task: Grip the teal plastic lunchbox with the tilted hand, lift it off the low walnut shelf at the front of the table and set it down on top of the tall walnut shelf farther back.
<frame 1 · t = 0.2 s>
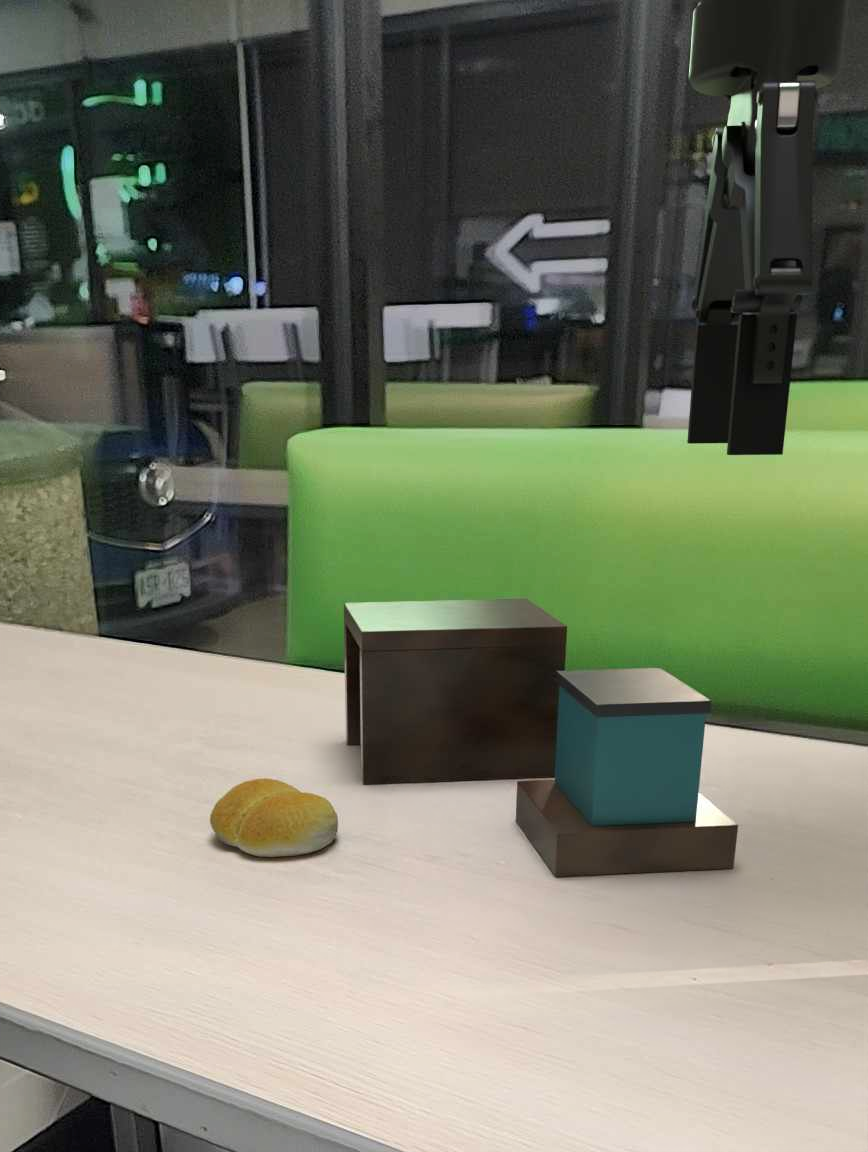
hand: (730, 449, 75), 26 cm above the table, tool pointing down, fingers open, 13 cm apart
bread roll: (274, 842, 93), on the table
bottom shelf: (618, 843, 92), on the table
top shelf: (447, 757, 113), on the table
lunchbox: (621, 801, 91), point 3 cm above the table, touching bottom shelf
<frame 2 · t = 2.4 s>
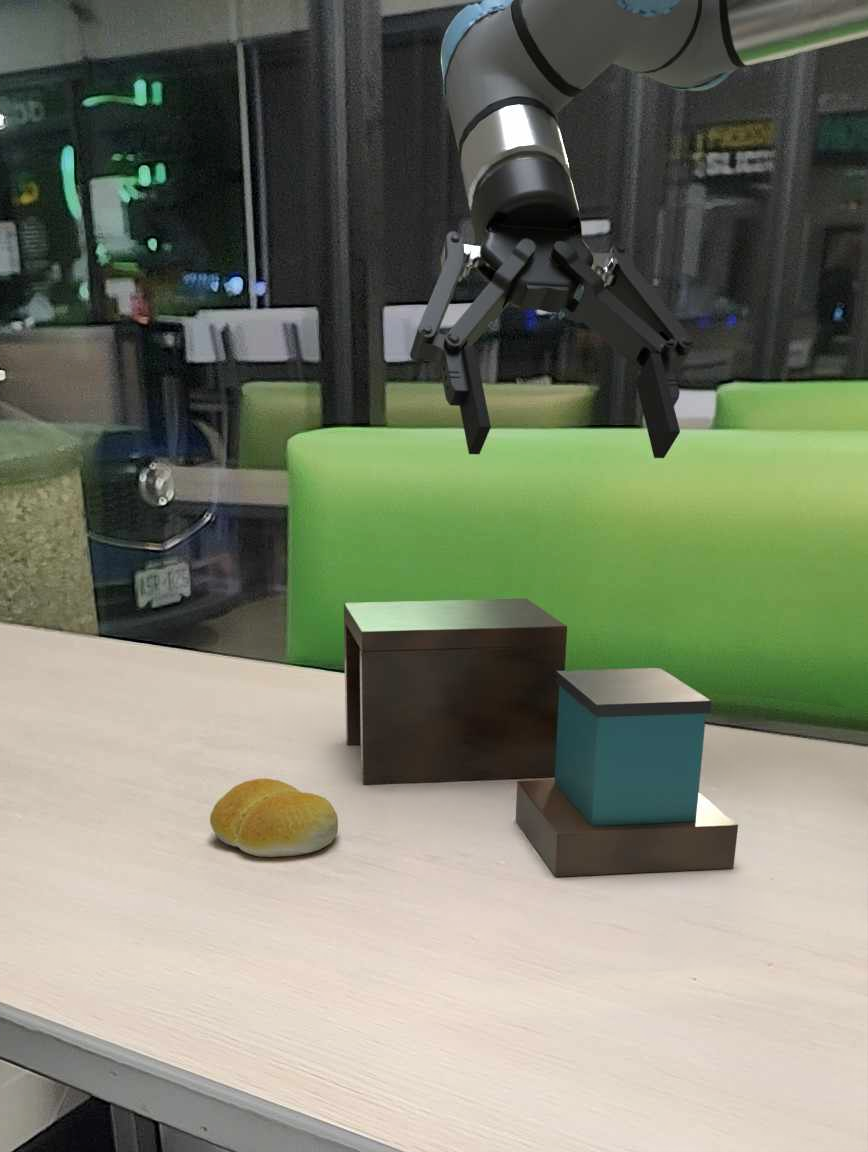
hand: (575, 443, 90), 25 cm above the table, tool tilted 40°, fingers open, 13 cm apart
nothing on the table moved.
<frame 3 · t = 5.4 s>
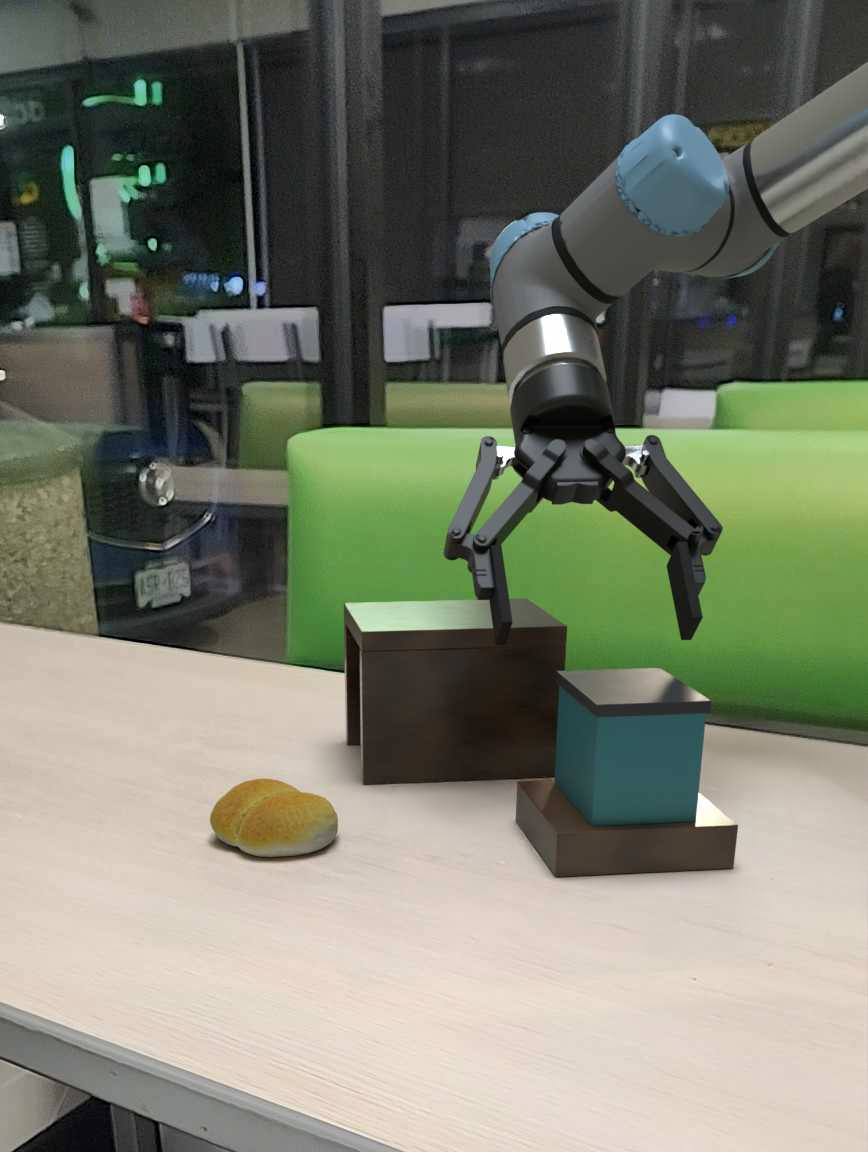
hand: (598, 632, 94), 13 cm above the table, tool tilted 45°, fingers open, 13 cm apart
nothing on the table moved.
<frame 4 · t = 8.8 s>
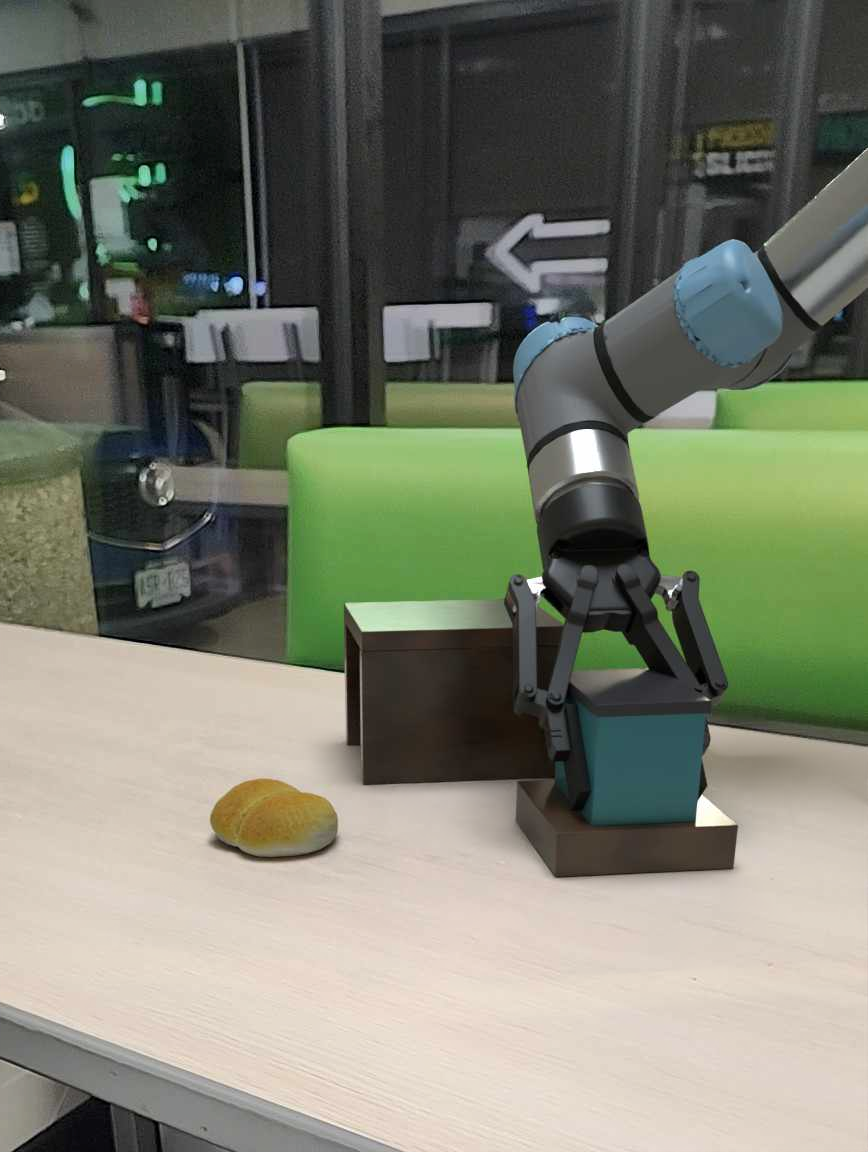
hand: (638, 798, 87), 4 cm above the table, tool tilted 45°, fingers closed on lunchbox, 7 cm apart
lunchbox: (621, 801, 91), point 3 cm above the table, touching bottom shelf, gripper
everything else where it was.
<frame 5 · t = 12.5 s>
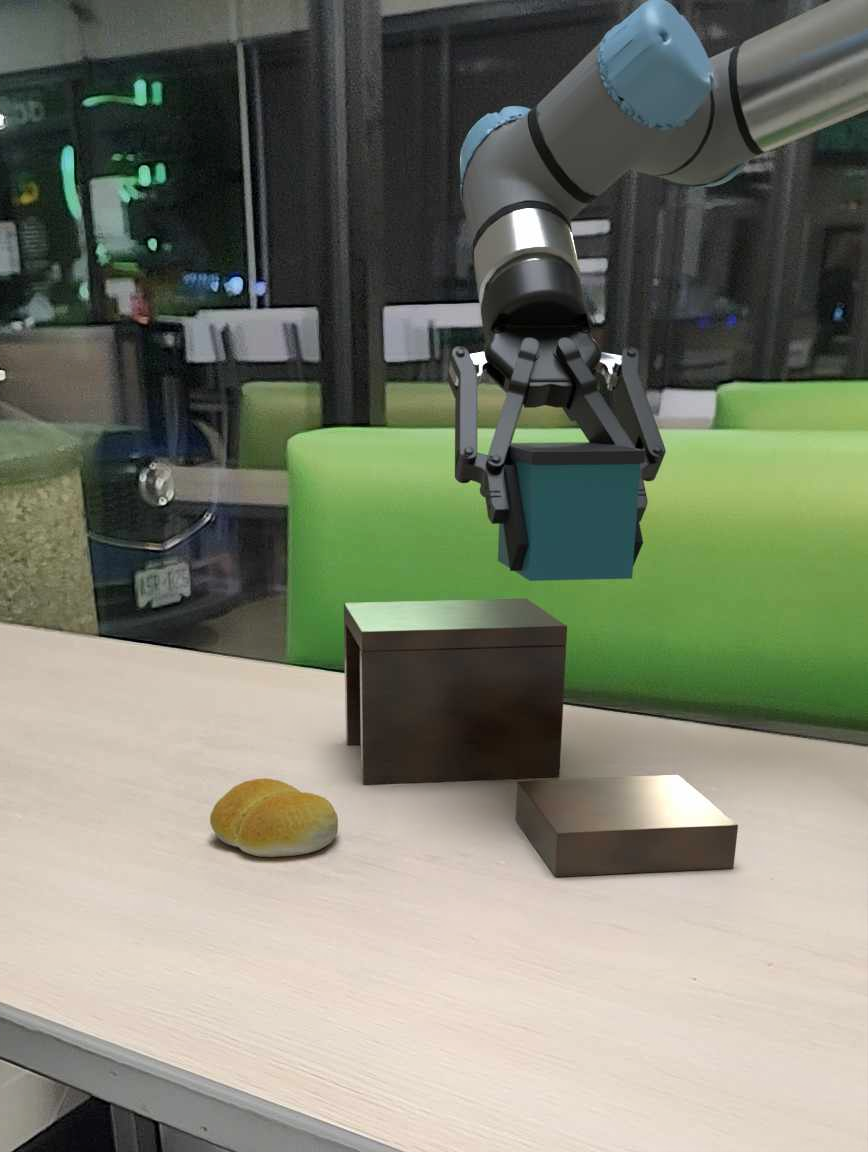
hand: (576, 556, 88), 19 cm above the table, tool tilted 45°, fingers closed on lunchbox, 7 cm apart
lunchbox: (562, 569, 92), point 17 cm above the table, touching gripper
everything else where it was.
when the fingers open (13 cm above the table, at t = 16.4 s): lunchbox stays where it is, resting on top shelf.
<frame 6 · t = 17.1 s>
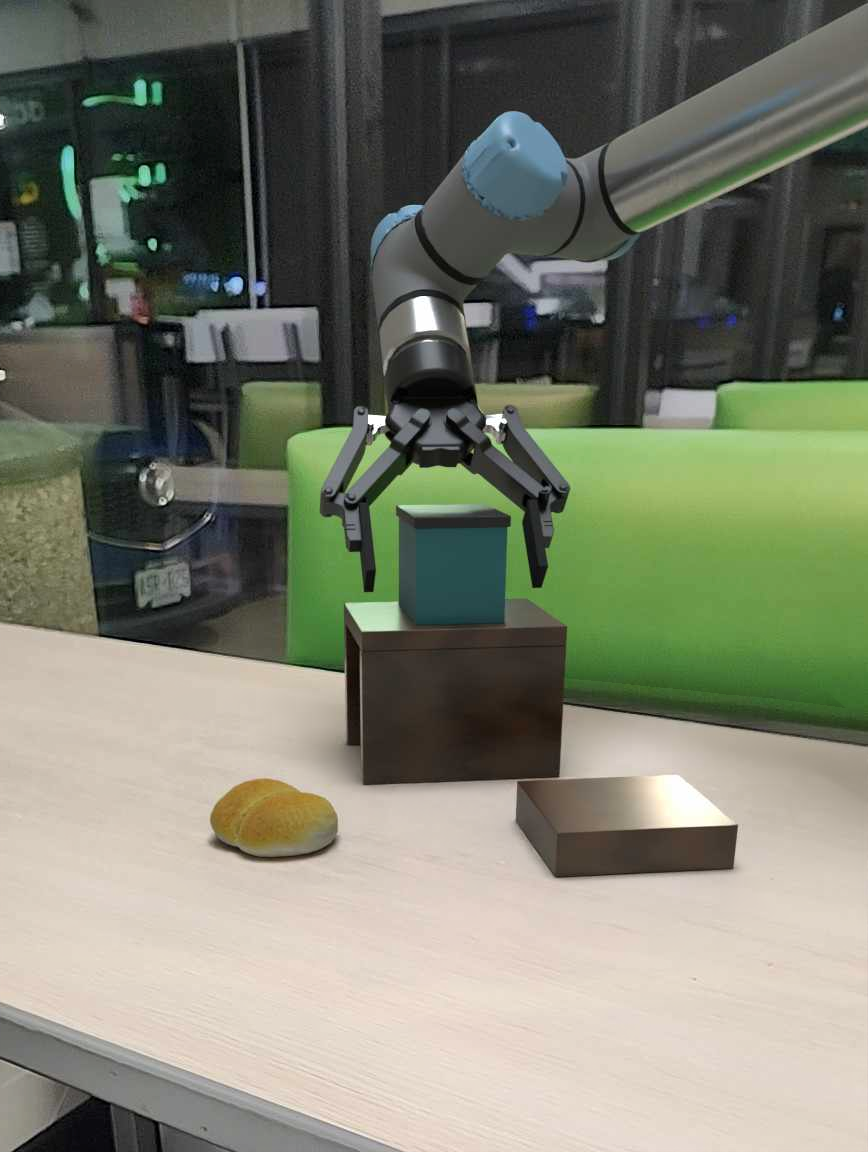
hand: (455, 579, 104), 15 cm above the table, tool tilted 45°, fingers open, 13 cm apart
lunchbox: (449, 613, 108), point 12 cm above the table, touching top shelf
everything else where it was.
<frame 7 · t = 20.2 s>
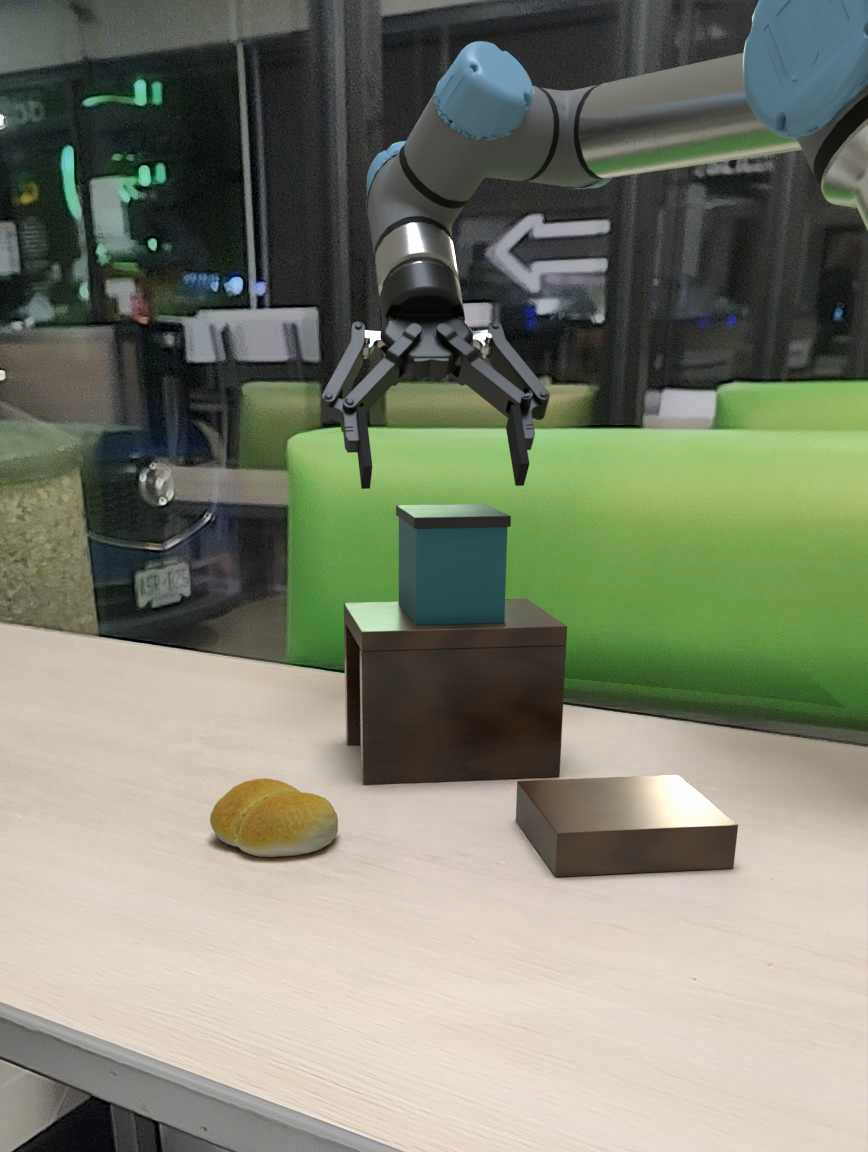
hand: (445, 476, 114), 22 cm above the table, tool tilted 45°, fingers open, 13 cm apart
nothing on the table moved.
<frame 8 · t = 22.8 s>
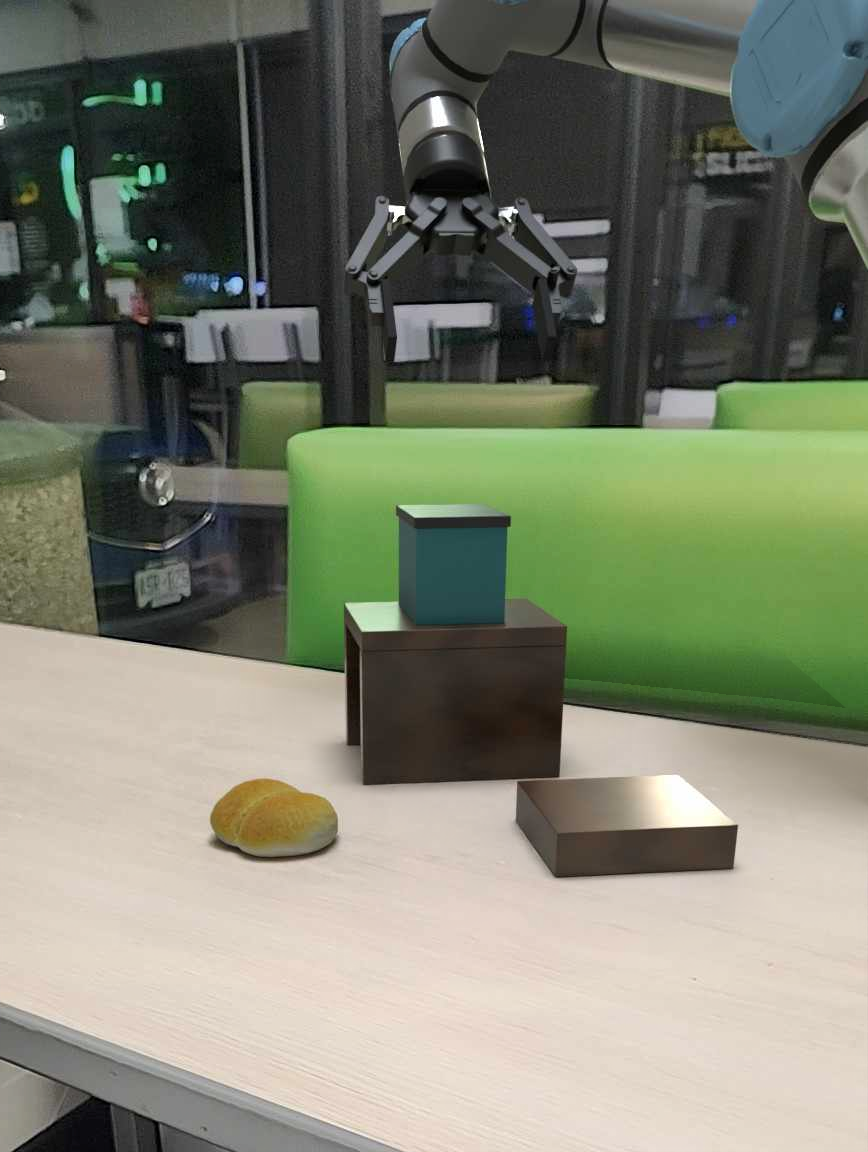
hand: (470, 350, 112), 32 cm above the table, tool tilted 45°, fingers open, 13 cm apart
nothing on the table moved.
at the end: lunchbox inside the target area on the top shelf (0.0 cm from its centre), point 12.0 cm above the top shelf's base; lunchbox tilted 0°; the gripper is holding nothing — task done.
